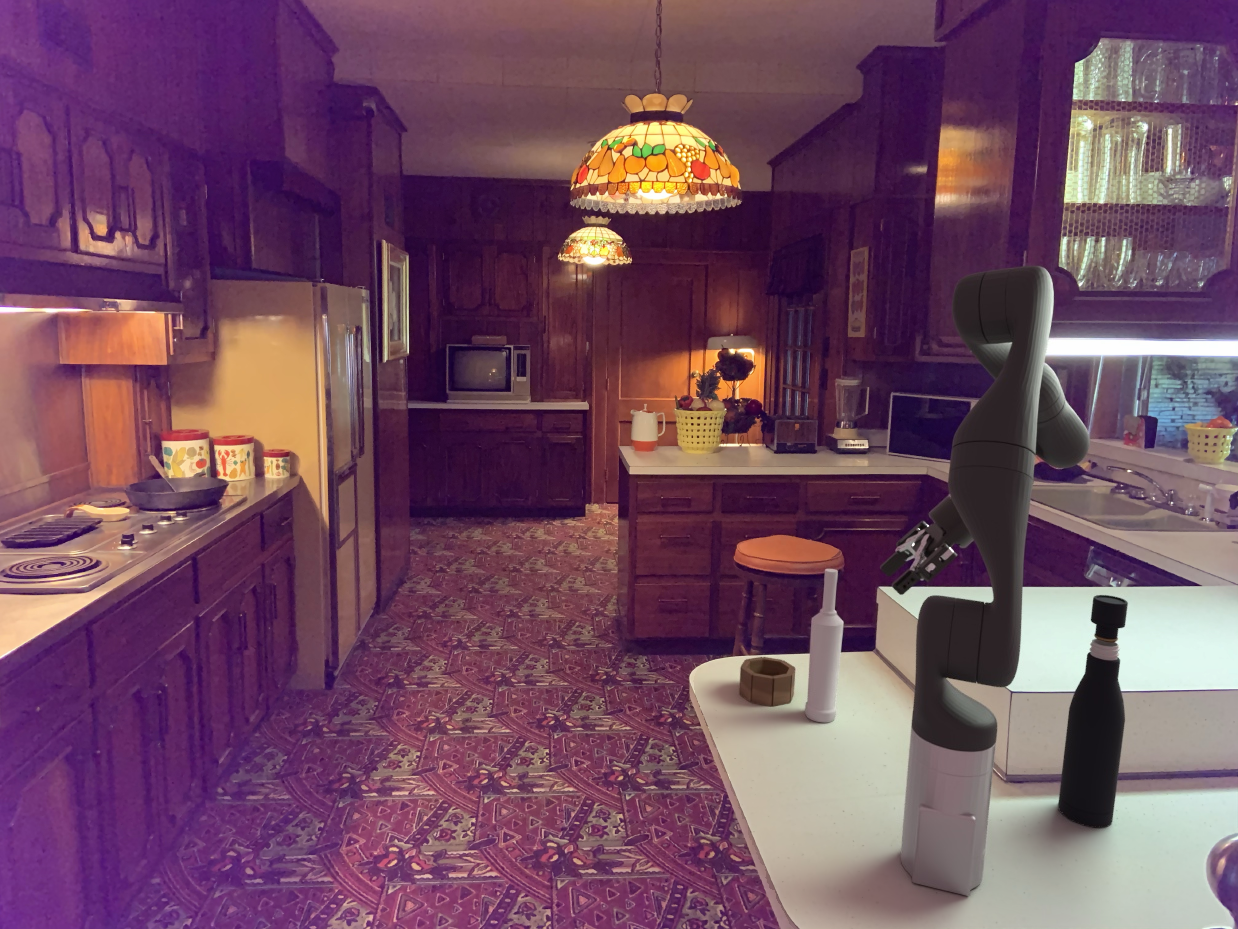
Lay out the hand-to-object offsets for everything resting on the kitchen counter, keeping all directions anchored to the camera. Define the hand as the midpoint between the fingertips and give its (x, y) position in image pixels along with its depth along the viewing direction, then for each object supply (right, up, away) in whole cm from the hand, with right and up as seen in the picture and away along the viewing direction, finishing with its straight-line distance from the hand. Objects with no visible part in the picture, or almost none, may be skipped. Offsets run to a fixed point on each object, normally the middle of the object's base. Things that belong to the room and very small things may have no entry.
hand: (889, 581), depth 133 cm
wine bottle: (+19, -29, -21) cm, 40 cm away
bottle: (-10, -24, +6) cm, 26 cm away
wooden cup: (-17, -22, +14) cm, 31 cm away
